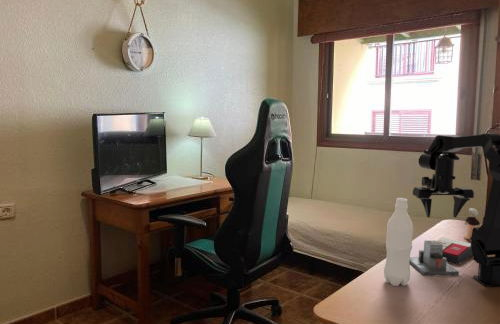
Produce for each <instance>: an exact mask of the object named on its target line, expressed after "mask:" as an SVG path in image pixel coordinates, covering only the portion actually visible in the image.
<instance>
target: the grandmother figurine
mask: <svg viewBox="0 0 500 324" xmlns="http://www.w3.org/2000/svg"><path fill="white" fill-rule="evenodd" d="M468 211H469V212H468V217H466V219H465V222H464V226H466V225H467V228H466V229H467V230H466V235H465V236H463V240H468V241H469V242H471V240H470V238H471V236H472V230H473V228H475V227H480V226H481V223H480V221H479V220H478V219H477V218H476V216H478V215H479V212H478V209H476V208H474V207H470V208H469V209H468Z"/></svg>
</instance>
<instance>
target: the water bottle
mask: <svg viewBox="0 0 500 324" xmlns="http://www.w3.org/2000/svg"><path fill="white" fill-rule="evenodd" d="M394 208H395V209H394V212H393V213H392V214H391V217H389V219H388V221H387V224H386V242H385V247H386V257H385V258H386V259H385V263H384V264H385V265H384V268H383V275H384V276H383V277H384V279H385V283H388V284H391V286H393V287H398V286H400V285H401V286H402V287H405V286H407V285H408V283H409V282H410V279H411V264H410V263H409V261H410V257H411V252H412V249H413V232H414V224H413V222H412V219H411V218H410V215H409V213H408V208H409V206H408V199H407V198H405V197H397V198H396V200H395V205H394Z"/></svg>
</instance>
